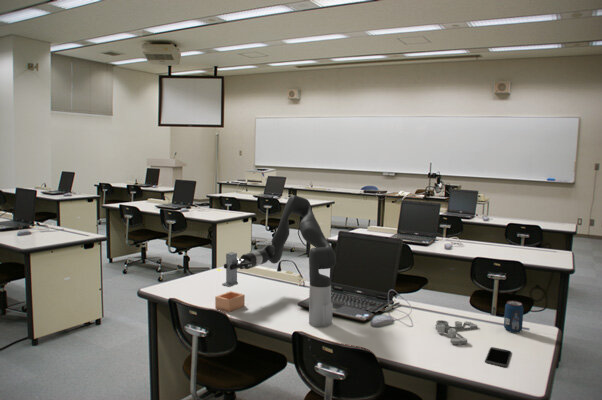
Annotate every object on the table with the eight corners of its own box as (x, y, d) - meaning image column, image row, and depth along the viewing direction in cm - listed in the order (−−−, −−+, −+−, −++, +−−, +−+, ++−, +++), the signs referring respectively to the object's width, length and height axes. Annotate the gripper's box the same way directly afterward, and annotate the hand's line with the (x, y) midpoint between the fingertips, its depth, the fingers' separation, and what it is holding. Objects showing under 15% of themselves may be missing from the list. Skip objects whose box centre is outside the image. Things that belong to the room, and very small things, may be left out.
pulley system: (425, 341, 172) (465, 348, 164) (425, 329, 172) (465, 336, 164) (443, 322, 195) (479, 328, 187) (443, 312, 195) (479, 317, 187)
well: (244, 305, 207) (244, 294, 206) (229, 312, 198) (229, 300, 197) (230, 302, 212) (230, 291, 211) (215, 307, 203) (215, 296, 202)
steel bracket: (238, 284, 205) (237, 253, 204) (229, 287, 200) (229, 255, 199) (231, 282, 208) (231, 252, 206) (222, 285, 203) (222, 254, 201)
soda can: (512, 326, 186) (514, 299, 185) (525, 332, 180) (527, 304, 179) (499, 328, 184) (501, 301, 183) (513, 334, 178) (515, 306, 176)
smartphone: (483, 363, 153) (484, 361, 152) (490, 348, 165) (490, 346, 165) (506, 369, 149) (507, 367, 149) (511, 353, 161) (511, 351, 161)
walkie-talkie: (377, 316, 197) (401, 306, 211) (377, 307, 196) (401, 297, 210) (361, 311, 203) (385, 301, 217) (361, 302, 202) (386, 293, 216)
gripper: (240, 250, 219) (216, 257, 205) (262, 254, 211) (238, 261, 197) (240, 265, 220) (216, 272, 206) (262, 269, 212) (238, 277, 198)
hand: (227, 267), depth 201 cm, fingers closed on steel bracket, 3 cm apart
